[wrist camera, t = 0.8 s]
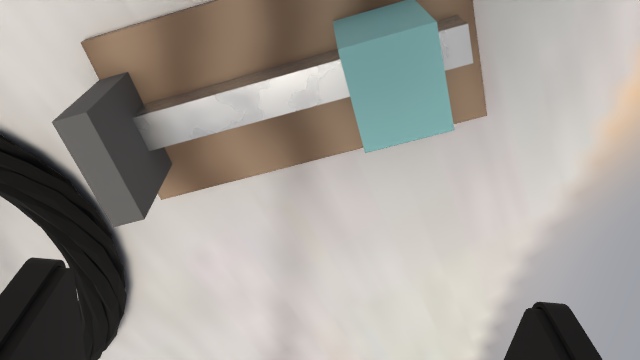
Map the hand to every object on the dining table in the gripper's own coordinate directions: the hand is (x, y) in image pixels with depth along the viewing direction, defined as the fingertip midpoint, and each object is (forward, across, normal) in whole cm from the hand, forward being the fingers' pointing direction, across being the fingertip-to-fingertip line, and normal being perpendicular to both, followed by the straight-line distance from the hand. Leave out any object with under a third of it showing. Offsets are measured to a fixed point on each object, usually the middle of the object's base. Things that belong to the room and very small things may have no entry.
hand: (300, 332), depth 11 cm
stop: (+25, +11, +7) cm, 28 cm away
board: (+25, +1, +3) cm, 25 cm away
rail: (+25, +1, +3) cm, 25 cm away
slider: (+24, -5, 0) cm, 25 cm away
